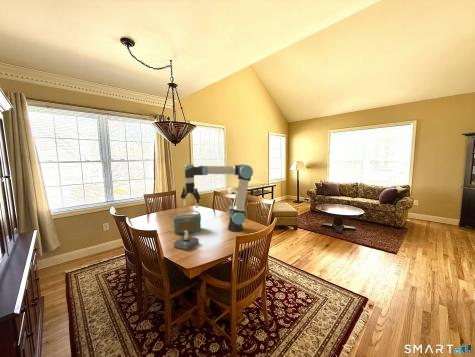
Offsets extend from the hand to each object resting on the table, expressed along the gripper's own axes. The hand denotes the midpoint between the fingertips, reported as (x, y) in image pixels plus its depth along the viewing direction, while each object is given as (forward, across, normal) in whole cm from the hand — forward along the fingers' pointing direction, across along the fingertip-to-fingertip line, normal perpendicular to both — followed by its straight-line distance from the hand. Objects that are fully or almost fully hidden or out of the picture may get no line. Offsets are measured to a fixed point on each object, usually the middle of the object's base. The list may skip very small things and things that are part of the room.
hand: (190, 206), depth 174 cm
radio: (+29, +15, -12) cm, 35 cm away
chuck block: (+29, -5, +13) cm, 32 cm away
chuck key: (+29, -5, +13) cm, 32 cm away
